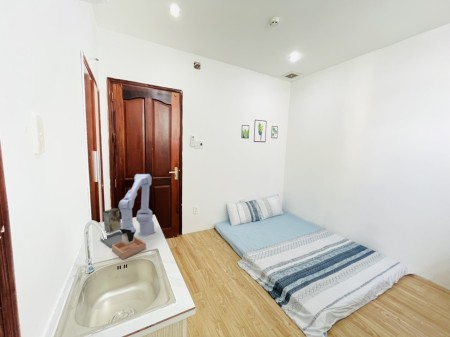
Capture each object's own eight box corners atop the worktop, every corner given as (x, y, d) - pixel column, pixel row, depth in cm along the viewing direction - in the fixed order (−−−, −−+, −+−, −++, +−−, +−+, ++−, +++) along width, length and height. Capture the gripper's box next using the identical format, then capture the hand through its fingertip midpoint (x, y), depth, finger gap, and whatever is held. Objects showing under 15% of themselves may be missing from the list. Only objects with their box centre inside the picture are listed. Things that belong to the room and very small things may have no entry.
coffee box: (116, 227, 149) (114, 207, 147) (121, 228, 147) (120, 208, 145) (104, 232, 141) (102, 211, 139) (110, 233, 139) (108, 212, 136)
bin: (134, 241, 128) (134, 236, 127) (145, 248, 119) (145, 242, 119) (112, 251, 117) (111, 245, 116) (123, 259, 108) (122, 253, 108)
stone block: (130, 239, 120) (129, 231, 120) (134, 241, 118) (133, 233, 117) (122, 242, 116) (121, 234, 116) (126, 245, 114) (125, 237, 113)
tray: (120, 234, 138) (119, 230, 138) (130, 240, 129) (130, 237, 129) (100, 241, 128) (100, 237, 128) (110, 249, 119) (110, 245, 119)
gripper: (114, 217, 116) (116, 238, 118) (126, 224, 108) (127, 246, 110) (126, 214, 122) (127, 234, 124) (138, 220, 113) (139, 241, 115)
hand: (128, 239), depth 117 cm, fingers closed on stone block, 5 cm apart
